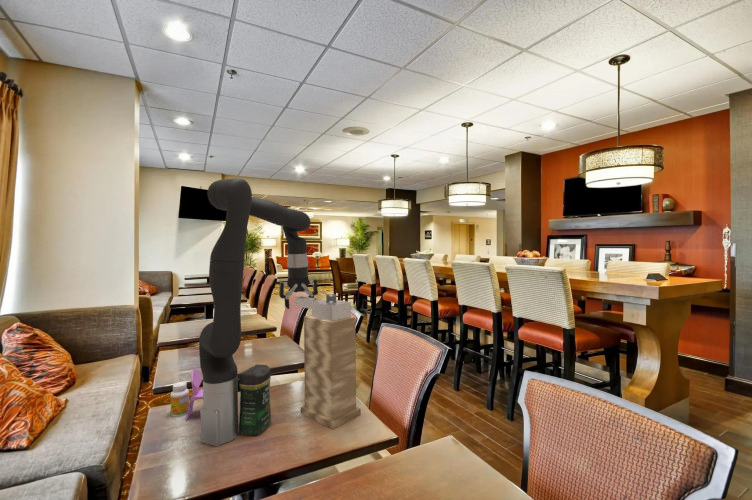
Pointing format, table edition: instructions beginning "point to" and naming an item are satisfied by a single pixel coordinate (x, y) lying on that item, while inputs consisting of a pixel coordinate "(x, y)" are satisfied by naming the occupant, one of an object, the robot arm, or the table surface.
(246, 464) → the table surface
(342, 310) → the lever cap
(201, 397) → the toy chair
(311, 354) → the oak pedestal
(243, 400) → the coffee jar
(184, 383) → the supplement bottle
